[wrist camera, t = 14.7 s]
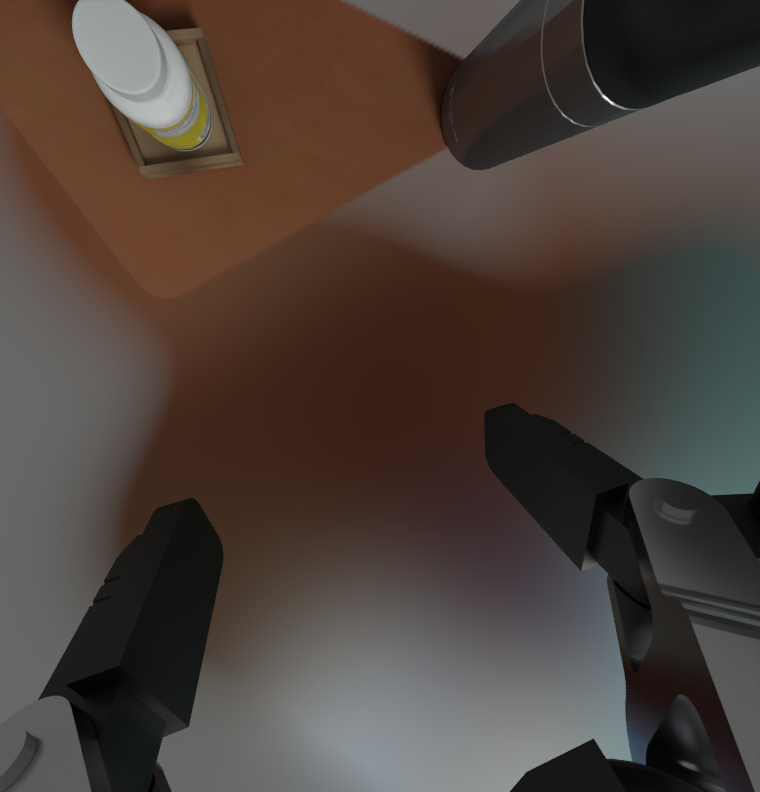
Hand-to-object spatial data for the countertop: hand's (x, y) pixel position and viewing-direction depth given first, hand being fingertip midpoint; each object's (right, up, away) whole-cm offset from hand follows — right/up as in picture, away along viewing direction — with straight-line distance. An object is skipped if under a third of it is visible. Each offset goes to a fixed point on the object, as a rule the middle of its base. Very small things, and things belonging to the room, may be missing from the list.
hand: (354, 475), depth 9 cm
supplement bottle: (-16, +25, +17) cm, 34 cm away
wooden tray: (-16, +26, +18) cm, 35 cm away
